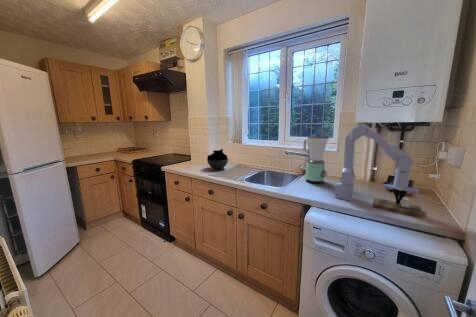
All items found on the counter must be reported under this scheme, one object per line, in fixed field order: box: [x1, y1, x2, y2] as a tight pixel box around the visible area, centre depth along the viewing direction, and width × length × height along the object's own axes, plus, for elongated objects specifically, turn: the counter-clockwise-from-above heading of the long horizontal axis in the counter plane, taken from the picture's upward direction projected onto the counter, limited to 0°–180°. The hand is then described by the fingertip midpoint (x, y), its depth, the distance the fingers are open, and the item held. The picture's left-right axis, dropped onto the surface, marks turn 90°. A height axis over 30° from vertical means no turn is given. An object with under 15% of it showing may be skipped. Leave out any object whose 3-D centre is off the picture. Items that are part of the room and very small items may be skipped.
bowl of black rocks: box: [206, 148, 229, 170], centre depth 189 cm, size 20×20×19 cm
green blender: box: [302, 134, 330, 185], centre depth 149 cm, size 19×13×35 cm
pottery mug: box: [382, 180, 400, 194], centre depth 129 cm, size 12×10×8 cm
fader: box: [400, 197, 411, 208], centre depth 102 cm, size 3×5×4 cm, turn 142°
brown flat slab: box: [371, 197, 424, 219], centre depth 105 cm, size 20×11×2 cm, turn 52°
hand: (397, 203), depth 104 cm, fingers closed
